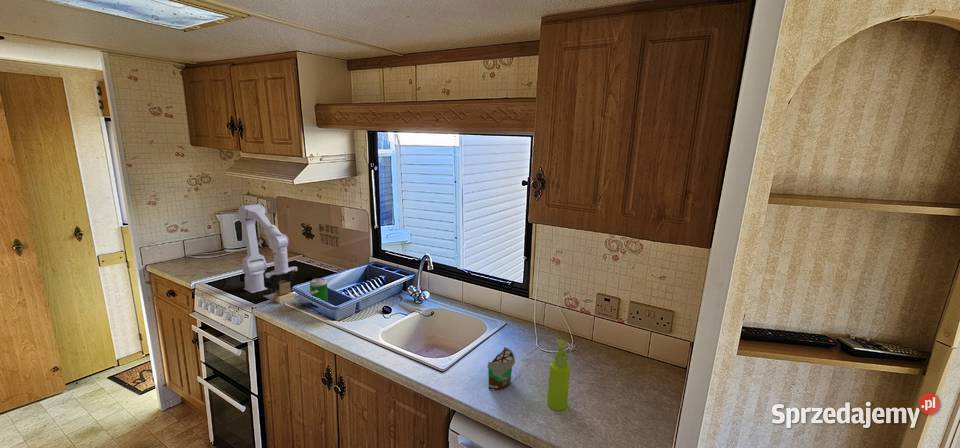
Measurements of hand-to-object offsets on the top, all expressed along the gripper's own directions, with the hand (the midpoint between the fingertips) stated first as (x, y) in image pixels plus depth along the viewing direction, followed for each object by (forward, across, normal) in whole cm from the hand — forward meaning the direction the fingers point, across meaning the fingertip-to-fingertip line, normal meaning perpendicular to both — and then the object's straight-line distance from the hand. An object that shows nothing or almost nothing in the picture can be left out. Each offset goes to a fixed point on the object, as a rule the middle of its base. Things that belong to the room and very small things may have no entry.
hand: (282, 288), depth 191 cm
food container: (+6, +10, -120) cm, 120 cm away
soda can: (+6, +8, -16) cm, 20 cm away
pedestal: (+6, 0, 0) cm, 6 cm away
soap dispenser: (+6, +12, -138) cm, 138 cm away
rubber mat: (+6, +2, +4) cm, 8 cm away
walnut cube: (+2, 0, 0) cm, 2 cm away
